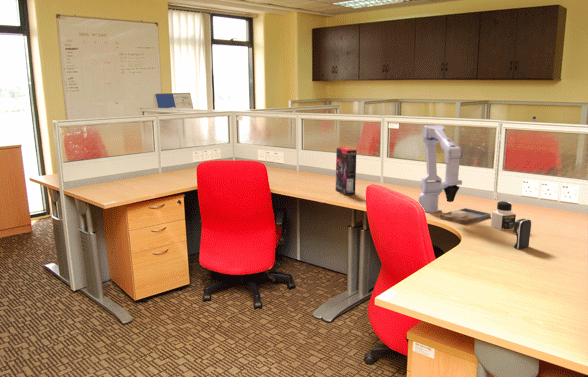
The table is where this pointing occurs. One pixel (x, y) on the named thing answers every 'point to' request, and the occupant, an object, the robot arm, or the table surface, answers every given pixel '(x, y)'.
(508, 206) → the medicine bottle
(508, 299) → the table surface
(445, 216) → the board
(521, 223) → the battery charger
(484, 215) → the tray
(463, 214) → the tile
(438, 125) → the robot arm
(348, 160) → the graphics card box
